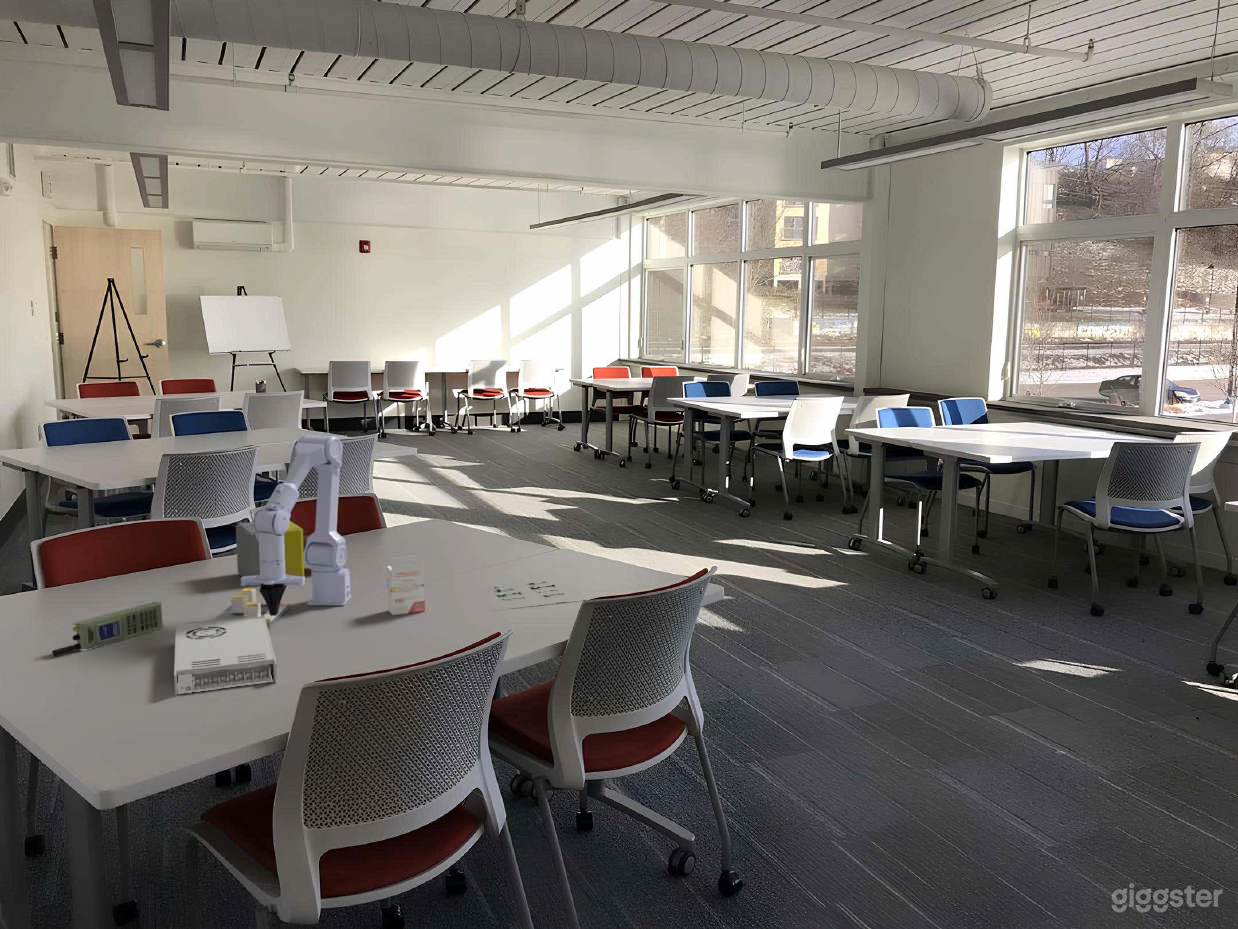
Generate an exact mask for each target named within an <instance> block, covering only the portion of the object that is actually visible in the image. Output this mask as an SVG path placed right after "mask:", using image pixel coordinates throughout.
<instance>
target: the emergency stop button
mask: <svg viewBox="0 0 1238 929" xmlns="http://www.w3.org/2000/svg"><path fill="white" fill-rule="evenodd" d="M252 523H253V521H249V522H240V523H239V522H238V524H236V525H235V535H236V536H235V537H236V538H235V541H236V560H237V562H236V563H237V573H238V574H239V575H240V576H241V578H242V577H243V576H256V575H260V560H259V541H258V540H257V539H256V532H255V531H254V529H253V526H252ZM312 534H313V533H310V534H309V535H304V529H303V528H302V527H301V526H299V525H297V524H296V523H294V522H292V521H291V520H290V522H289V528H288V529H287V531H286V532H285V533H284V547H285V575H292V576H305V568H304V567H305V561H304V550H305V547H306V543H307V538H308V537H309V536H310V535H312ZM319 543H323V542H319ZM325 544H330V543H325Z"/></svg>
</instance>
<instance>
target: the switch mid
mask: <svg viewBox="0 0 1238 929" xmlns="http://www.w3.org/2000/svg"><path fill="white" fill-rule="evenodd" d="M230 602H231V604H230V606H231V608H232V613H244V606H245V605H246V604H247V603H248V596H246V595H240V594H236V595H234V596H233V597H232V598H231V599H230Z"/></svg>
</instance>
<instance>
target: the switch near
mask: <svg viewBox="0 0 1238 929" xmlns="http://www.w3.org/2000/svg"><path fill="white" fill-rule="evenodd" d="M260 604H261V602H259V601H256V602H248V603H247V604H246V605H245V606H244V618H251V617H260V616H261V605H260Z"/></svg>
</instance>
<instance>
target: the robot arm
mask: <svg viewBox="0 0 1238 929" xmlns="http://www.w3.org/2000/svg"><path fill="white" fill-rule="evenodd" d="M343 446H344V445H343V442H342V441H341V440H340V438H339V437H338V436H334V435H331V436H330V435H328V436H327V435H315V434H313V435H312V434H305V433H304V434H301V435H300V437H299V438H298V440H297V442H296V444H295V446H294V451H295V458H294V461H293V463H292V465H291V467H290V469H289V470H288V471H289V472H288V474H287V476H286V478H285V480H284V482H282V483H279V484H277V485H276V486H275V489H274V490H273V492H272V494H271V496H269V499H268V501H267V503H266V505H264V508H263V509H261V510H259V511H257V512H256V513H255V515H254V517H253V520H252V522H253V523H252V526H253V529H254V531H255V532H256V539H257V540H258V541H259V560H260V575H256V576H243V577H242V576H241V577H240V586H241V587H246V586H260V587H259V589H258V591H259V593H260V595H261V596H262V597H263V600H264V601H265V604H267V606H268V609H269V612H270V616H276V615H277V614H278V612H279V606H280V603H281V601H282V598H283V596H284V593H285V591H286V588H287V586H298V587H304V586H305V585H306V577H305V575H304V576H292V575H285V547H284V533H285V532H286V531H287V529H288V528H289V522H290V521H291V520H290V519H291V517H292V513H291V512H292V510H293V508H294V507H295V505H296V504H297V501H298V499H299V497H300V492H299V490H298V489H299V488H300V486H301V485H302V483H303V482H304V480H305V479H306V477H307V475H308V474H309V472H310V471H311V469H312V468H315V470H317V474H318V478H317V490H316V491H317V493H316V496H317V497H316V512H315V530H314V532H312V533H311V534H312V535H310V534H309V535H310V536H309V537H308V538H307V543H306V547H305V550H304V564H305V565H307V566H308V569H309V570H310V571H311V596H312V598H311V599H310V600H309V601H308V603H307V606H345V605H346V604H347V603H348V602H349V600H350V599H351V598H352V595H351V574H350V569H349V568H344V566H345V565H346V563H347V559H348V551H347V546H346V542H347V541H346V539H345V538H344V537H343V536H342V535H341V534H339V533H338V531H337V530H338V529H337V527H338V511H339V509H338V507H339V488H340V472H341V470H340V468H342V466H343V450H344V448H343ZM319 542H323V543H319ZM325 543H330V544H325Z"/></svg>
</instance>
